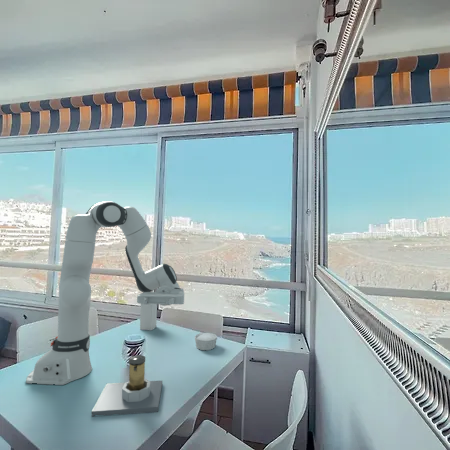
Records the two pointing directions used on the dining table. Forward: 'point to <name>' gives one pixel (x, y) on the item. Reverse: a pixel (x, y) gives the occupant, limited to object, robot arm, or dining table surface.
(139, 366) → the cylinder
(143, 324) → the milk carton
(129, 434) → the dining table surface
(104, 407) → the socket base
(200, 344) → the ramekin
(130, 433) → the dining table surface
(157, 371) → the dining table surface
